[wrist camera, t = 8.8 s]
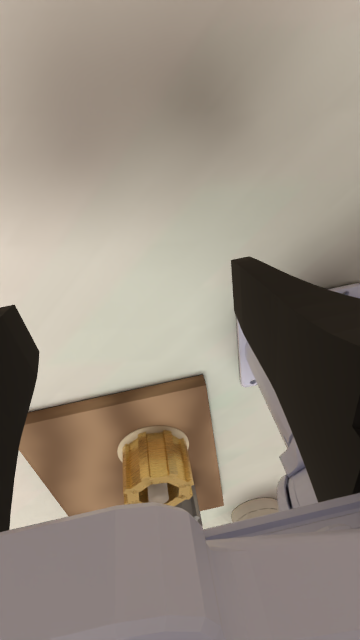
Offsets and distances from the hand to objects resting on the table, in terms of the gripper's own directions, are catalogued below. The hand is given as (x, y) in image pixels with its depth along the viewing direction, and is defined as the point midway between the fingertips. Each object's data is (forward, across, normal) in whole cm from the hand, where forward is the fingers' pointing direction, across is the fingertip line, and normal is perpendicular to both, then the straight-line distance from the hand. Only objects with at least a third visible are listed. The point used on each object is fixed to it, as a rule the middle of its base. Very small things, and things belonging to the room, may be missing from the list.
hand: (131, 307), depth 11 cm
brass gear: (+9, +2, +21) cm, 23 cm away
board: (+10, +5, +24) cm, 26 cm away
